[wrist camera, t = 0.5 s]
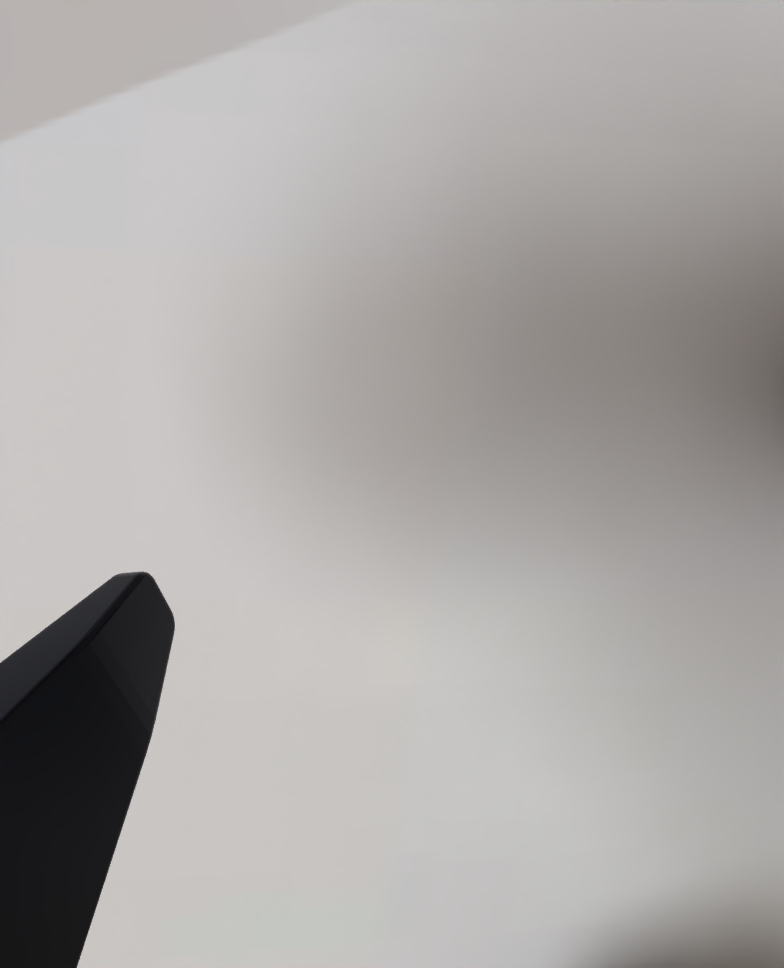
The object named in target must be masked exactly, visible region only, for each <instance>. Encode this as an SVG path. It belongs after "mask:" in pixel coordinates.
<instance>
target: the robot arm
mask: <svg viewBox="0 0 784 968" xmlns="http://www.w3.org/2000/svg"><path fill="white" fill-rule="evenodd" d="M174 629H175V623H174V617H173V613H172V611H171V609H170V607H169V606H168V604H167V602H166V600H165V598H164V596H163V595H162V593H161V591H160V589H159V587H158V585H157V583H156V582H155V580H154V578H153V577H152V576H151V575H150V574H149V573H147V572H131V573H121V574H117V575H115V576H114V577H112V578H111V579H110V580H108V581H107V582H106V583H104V584H103V585H102V586H100V587H99V588H98V589H96V590H95V591H94V592H93V593H91V594H90V595H89V596H87V597H86V598H85V599H83V600H82V601H81V602H79V603H78V604H77V605H76V606H74V607H73V608H72V609H70V610H69V611H68V612H66V613H65V614H64V615H62V616H61V617H60V618H59V619H57V620H56V621H55V622H53V623H52V624H51V625H49V626H48V627H47V628H45V629H44V630H43V631H41V632H40V633H39V634H38V635H36V636H35V637H34V638H32V639H31V640H30V641H28V642H27V643H26V644H24V645H23V646H22V647H21V648H19V649H18V650H17V651H15V652H14V653H13V654H11V655H10V656H9V657H7V658H6V659H5V660H4V661H2V662H1V663H0V968H77V965H78V962H79V959H80V956H81V953H82V950H83V947H84V944H85V941H86V937H87V934H88V931H89V928H90V925H91V922H92V919H93V916H94V913H95V910H96V907H97V904H98V901H99V897H100V894H101V891H102V888H103V885H104V882H105V879H106V876H107V873H108V870H109V867H110V864H111V861H112V857H113V854H114V851H115V848H116V845H117V842H118V839H119V836H120V833H121V830H122V827H123V824H124V821H125V817H126V814H127V811H128V808H129V805H130V802H131V799H132V796H133V793H134V790H135V787H136V784H137V781H138V778H139V774H140V771H141V768H142V765H143V762H144V759H145V756H146V753H147V749H148V746H149V743H150V739H151V736H152V732H153V728H154V724H155V720H156V715H157V711H158V706H159V701H160V697H161V692H162V687H163V682H164V678H165V673H166V668H167V664H168V659H169V654H170V650H171V645H172V640H173V636H174Z"/></svg>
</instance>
